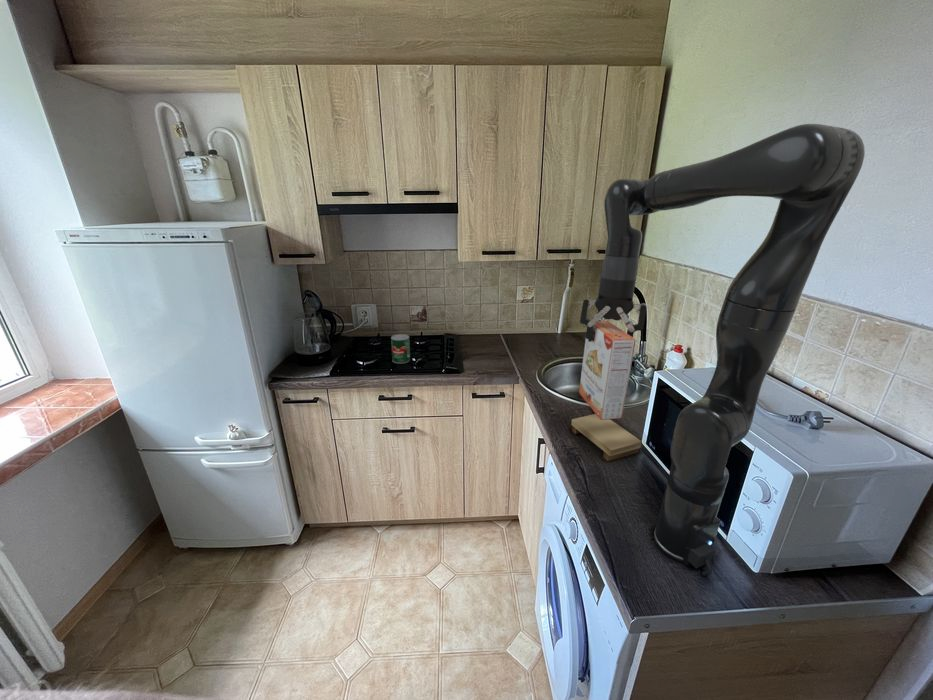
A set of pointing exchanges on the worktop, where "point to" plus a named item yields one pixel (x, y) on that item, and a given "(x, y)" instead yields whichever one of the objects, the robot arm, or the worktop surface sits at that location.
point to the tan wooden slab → (607, 436)
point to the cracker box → (606, 370)
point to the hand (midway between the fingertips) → (607, 343)
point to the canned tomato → (400, 348)
